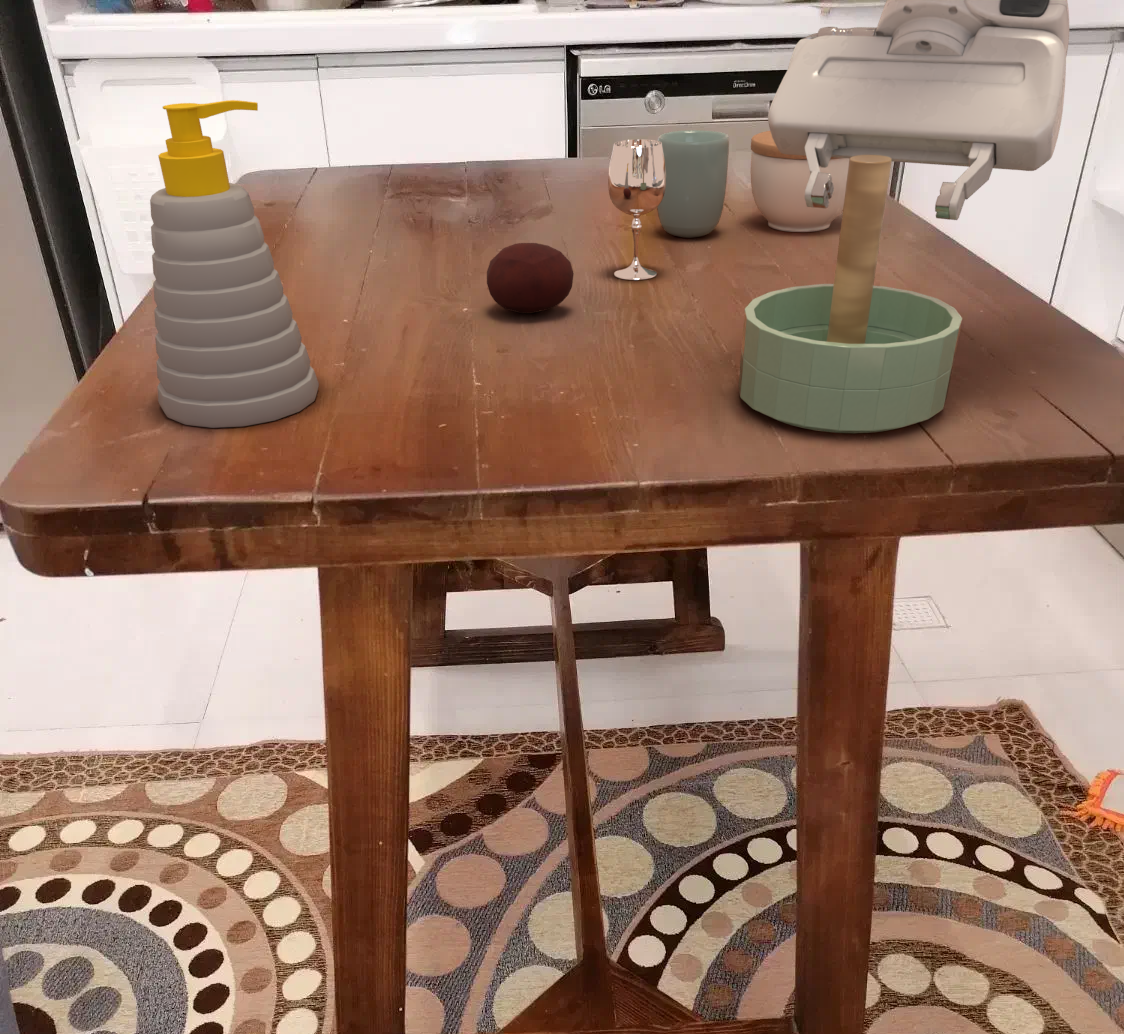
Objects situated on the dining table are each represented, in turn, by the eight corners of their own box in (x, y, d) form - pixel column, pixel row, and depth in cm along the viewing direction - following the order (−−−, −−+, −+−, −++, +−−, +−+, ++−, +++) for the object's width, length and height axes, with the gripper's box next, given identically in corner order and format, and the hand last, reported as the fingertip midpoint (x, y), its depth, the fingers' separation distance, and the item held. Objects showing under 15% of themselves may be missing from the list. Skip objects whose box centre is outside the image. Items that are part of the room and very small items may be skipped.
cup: (642, 237, 126) (644, 138, 120) (676, 223, 131) (680, 128, 125) (702, 245, 122) (707, 144, 116) (734, 230, 127) (741, 133, 121)
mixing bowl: (921, 366, 90) (936, 283, 86) (964, 439, 78) (984, 346, 74) (732, 366, 91) (738, 284, 87) (745, 438, 79) (753, 346, 75)
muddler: (863, 382, 86) (897, 151, 76) (872, 402, 82) (909, 164, 72) (806, 382, 86) (833, 152, 76) (813, 402, 82) (842, 165, 72)
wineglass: (612, 266, 116) (613, 138, 109) (666, 267, 115) (671, 138, 108) (603, 280, 112) (603, 148, 104) (659, 282, 111) (663, 149, 103)
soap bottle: (327, 417, 84) (279, 110, 71) (157, 437, 81) (77, 123, 69) (313, 365, 93) (268, 87, 81) (161, 381, 91) (91, 97, 78)
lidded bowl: (803, 208, 136) (814, 105, 129) (876, 227, 127) (892, 118, 120) (723, 222, 131) (729, 116, 124) (793, 243, 122) (805, 131, 115)
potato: (539, 329, 100) (537, 259, 96) (470, 314, 104) (465, 246, 100) (586, 309, 104) (586, 241, 101) (518, 295, 108) (516, 230, 105)
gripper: (794, -6, 80) (732, 169, 79) (1093, -4, 71) (1026, 191, 71) (809, 59, 86) (751, 222, 85) (1087, 67, 77) (1025, 249, 77)
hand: (878, 208), depth 78 cm, fingers open, 8 cm apart
